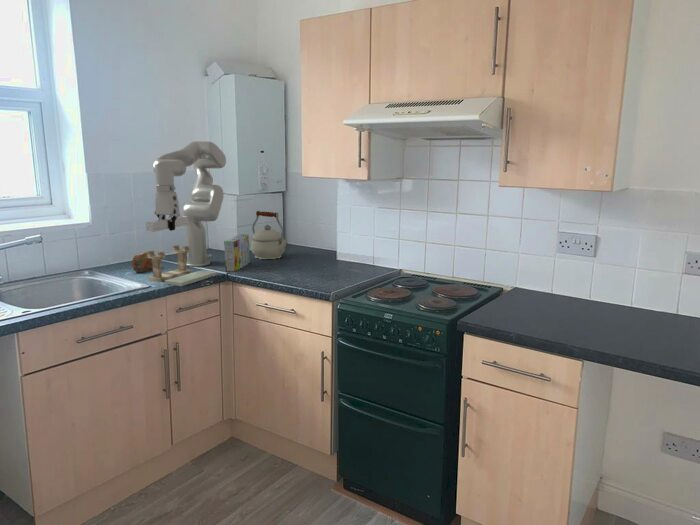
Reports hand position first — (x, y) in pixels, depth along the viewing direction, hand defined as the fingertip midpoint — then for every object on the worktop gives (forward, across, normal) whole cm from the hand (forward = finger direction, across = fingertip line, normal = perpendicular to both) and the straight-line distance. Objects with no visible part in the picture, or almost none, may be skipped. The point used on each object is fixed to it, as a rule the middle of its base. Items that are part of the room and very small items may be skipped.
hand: (168, 229), depth 244 cm
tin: (+22, +21, -4) cm, 31 cm away
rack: (+22, 0, +1) cm, 22 cm away
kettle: (+23, -16, -58) cm, 65 cm away
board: (+22, -13, +1) cm, 25 cm away
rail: (-1, 0, 0) cm, 1 cm away
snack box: (+22, -15, -30) cm, 41 cm away
